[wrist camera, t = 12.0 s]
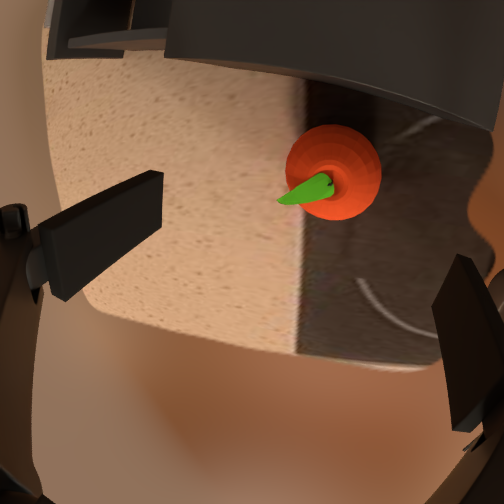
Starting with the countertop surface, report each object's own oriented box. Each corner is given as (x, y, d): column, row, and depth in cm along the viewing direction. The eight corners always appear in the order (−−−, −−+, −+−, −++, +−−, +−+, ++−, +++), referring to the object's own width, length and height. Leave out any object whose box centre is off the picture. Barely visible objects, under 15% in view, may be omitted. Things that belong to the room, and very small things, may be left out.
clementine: (307, 219, 28) (291, 257, 22) (269, 149, 26) (240, 166, 20) (391, 184, 24) (402, 214, 18) (355, 107, 23) (354, 109, 17)
